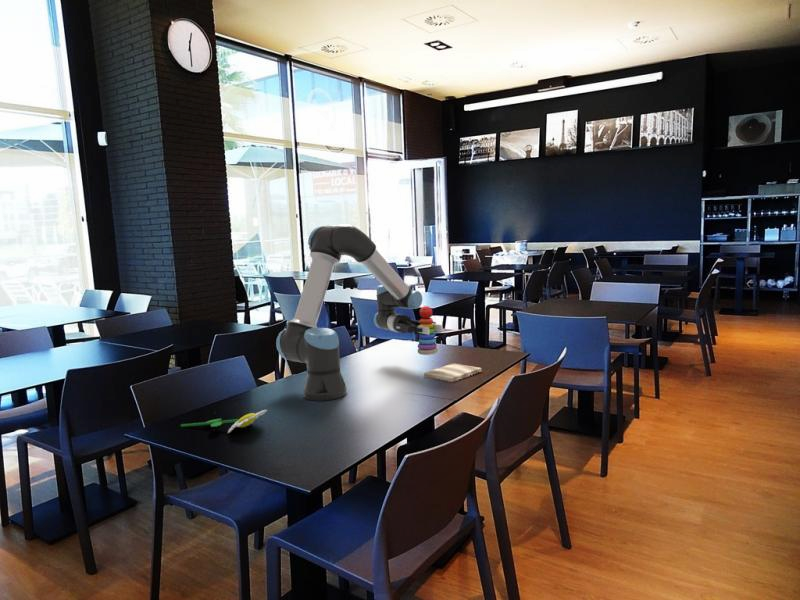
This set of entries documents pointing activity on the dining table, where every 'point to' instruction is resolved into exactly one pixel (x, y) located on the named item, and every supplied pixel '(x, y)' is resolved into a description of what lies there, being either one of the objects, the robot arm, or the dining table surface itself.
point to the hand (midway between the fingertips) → (435, 329)
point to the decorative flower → (240, 422)
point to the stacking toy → (426, 341)
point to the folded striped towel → (452, 372)
